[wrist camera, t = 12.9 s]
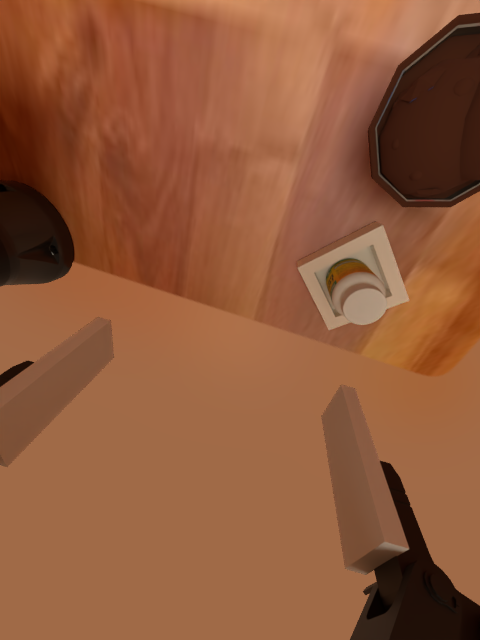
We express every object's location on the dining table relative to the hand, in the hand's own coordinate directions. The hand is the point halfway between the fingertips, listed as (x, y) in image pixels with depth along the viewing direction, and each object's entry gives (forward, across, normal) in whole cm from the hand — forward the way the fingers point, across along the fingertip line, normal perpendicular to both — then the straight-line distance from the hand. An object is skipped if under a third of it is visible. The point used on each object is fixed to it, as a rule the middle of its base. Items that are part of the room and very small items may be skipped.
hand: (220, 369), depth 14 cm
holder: (+23, +12, +1) cm, 26 cm away
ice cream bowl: (+23, +12, +16) cm, 30 cm away
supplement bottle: (+22, +12, +1) cm, 25 cm away
